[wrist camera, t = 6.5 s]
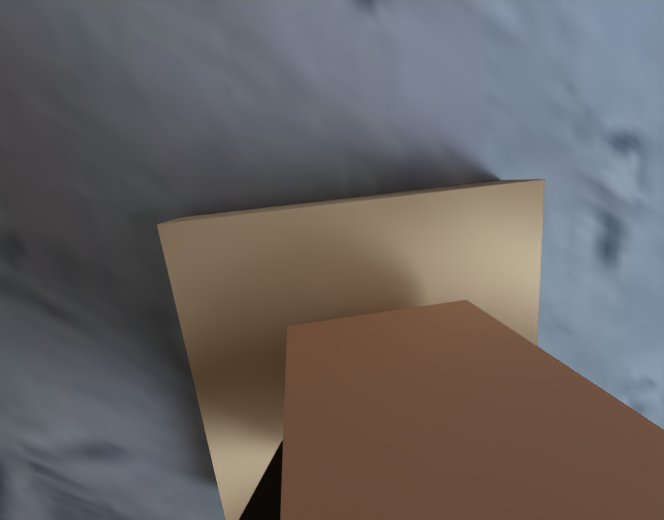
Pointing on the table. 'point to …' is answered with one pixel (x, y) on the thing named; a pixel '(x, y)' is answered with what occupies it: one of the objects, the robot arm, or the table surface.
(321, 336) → the block
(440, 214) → the base slab
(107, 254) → the table surface
